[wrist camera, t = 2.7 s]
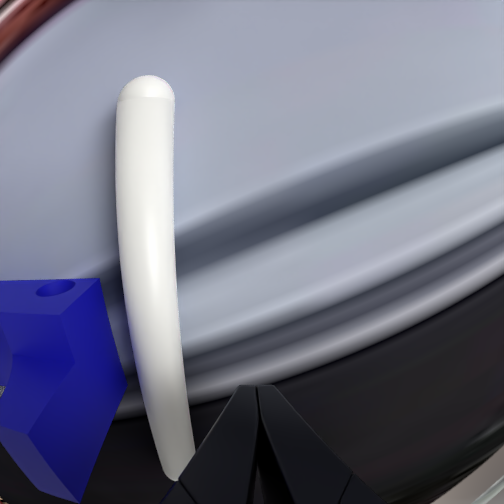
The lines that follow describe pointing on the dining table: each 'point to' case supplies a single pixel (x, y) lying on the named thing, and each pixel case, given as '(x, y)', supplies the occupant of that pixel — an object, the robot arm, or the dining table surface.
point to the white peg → (152, 262)
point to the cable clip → (57, 380)
